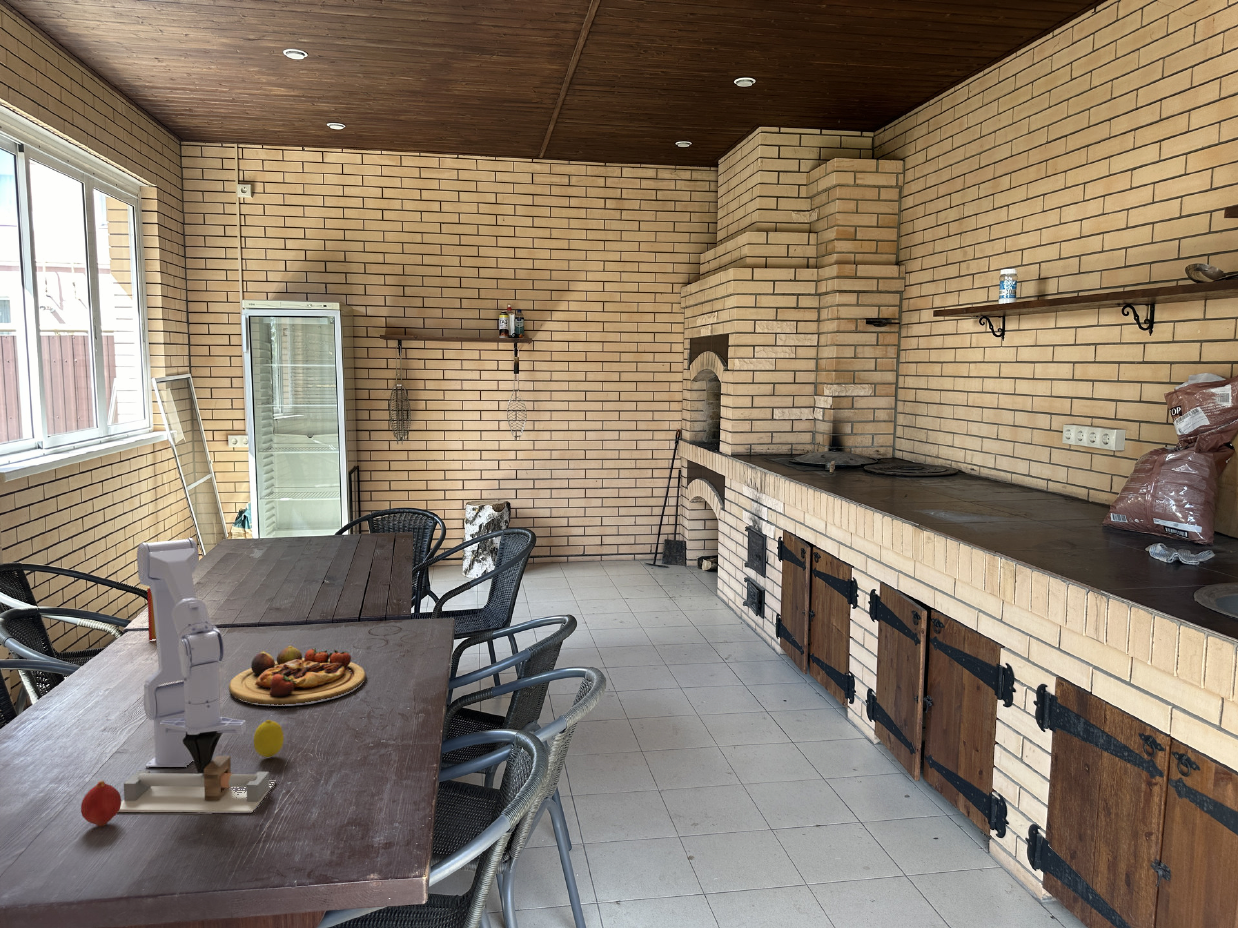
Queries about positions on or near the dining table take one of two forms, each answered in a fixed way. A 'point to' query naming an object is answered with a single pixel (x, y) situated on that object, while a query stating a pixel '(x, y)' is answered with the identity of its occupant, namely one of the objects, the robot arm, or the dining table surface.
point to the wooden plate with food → (296, 677)
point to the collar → (216, 778)
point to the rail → (191, 792)
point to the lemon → (268, 738)
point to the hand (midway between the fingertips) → (204, 770)
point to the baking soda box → (151, 616)
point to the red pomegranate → (101, 804)
